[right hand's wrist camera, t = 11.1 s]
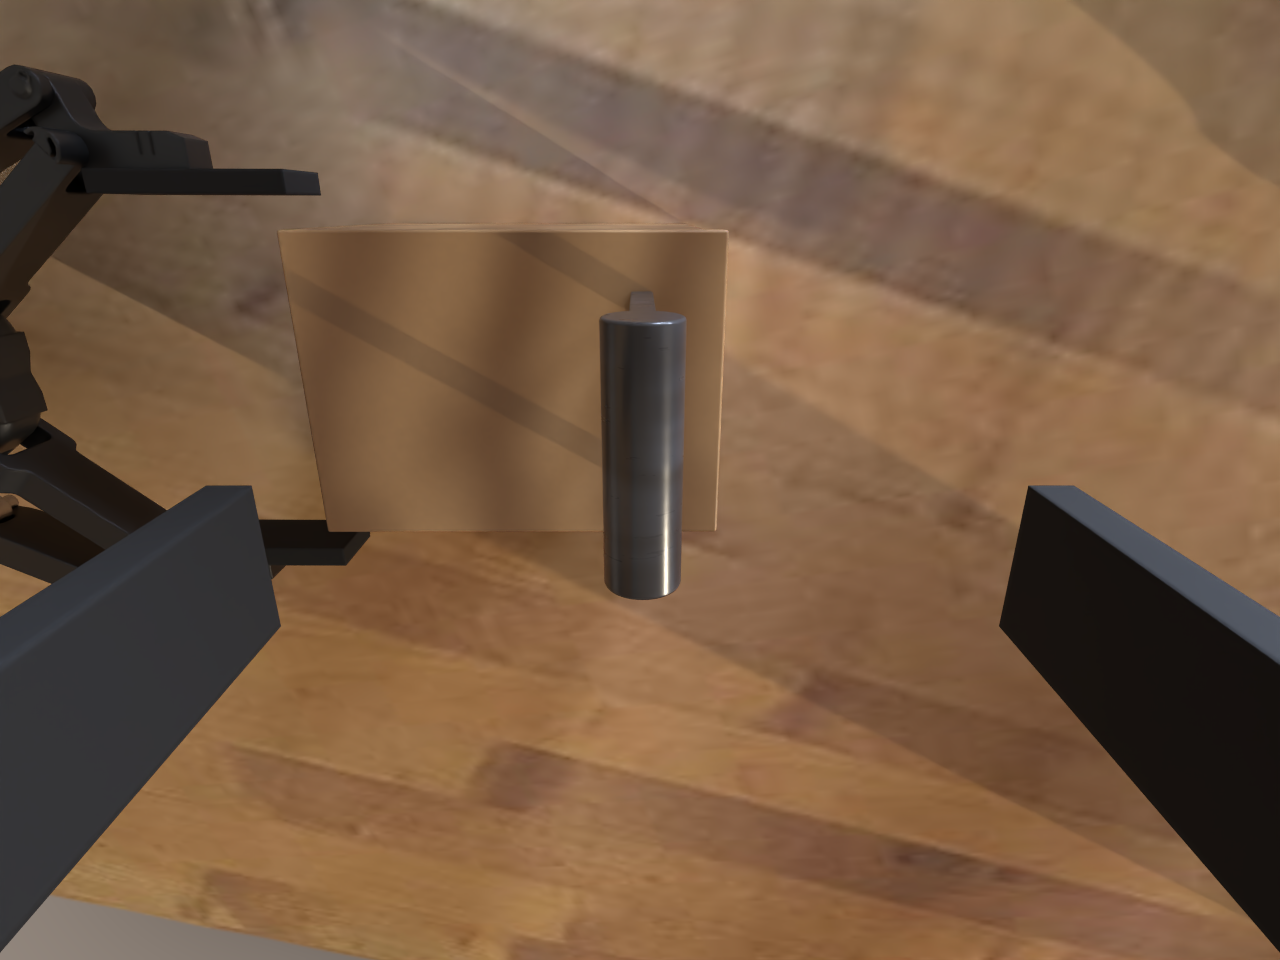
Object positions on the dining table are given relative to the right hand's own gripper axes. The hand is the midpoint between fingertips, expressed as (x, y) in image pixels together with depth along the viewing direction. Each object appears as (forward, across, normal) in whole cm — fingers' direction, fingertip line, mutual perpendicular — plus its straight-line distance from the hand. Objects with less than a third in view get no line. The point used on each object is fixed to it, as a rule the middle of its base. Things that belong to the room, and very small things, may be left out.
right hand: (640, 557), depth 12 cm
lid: (+13, -4, 0) cm, 13 cm away
